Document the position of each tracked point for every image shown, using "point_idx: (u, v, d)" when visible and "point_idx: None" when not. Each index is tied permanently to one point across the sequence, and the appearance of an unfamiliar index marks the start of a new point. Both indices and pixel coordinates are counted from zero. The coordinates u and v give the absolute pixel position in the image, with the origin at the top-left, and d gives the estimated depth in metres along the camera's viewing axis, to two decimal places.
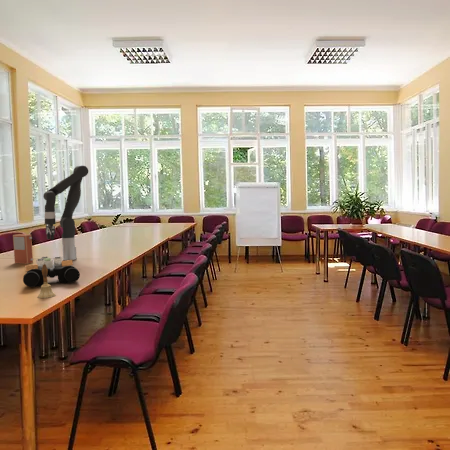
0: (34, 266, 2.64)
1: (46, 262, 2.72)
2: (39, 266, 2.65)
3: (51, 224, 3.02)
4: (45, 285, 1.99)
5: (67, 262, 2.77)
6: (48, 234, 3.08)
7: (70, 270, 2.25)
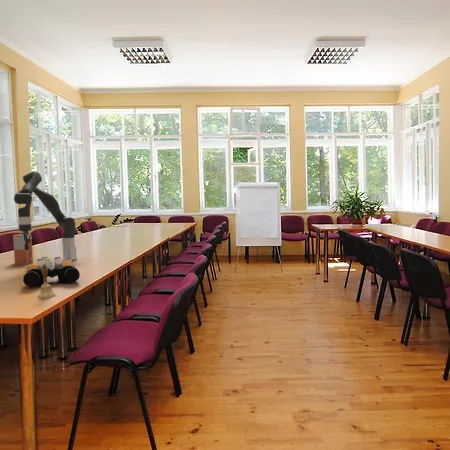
0: (34, 266, 2.64)
1: (46, 262, 2.72)
2: (39, 266, 2.65)
3: (26, 231, 2.63)
4: (45, 285, 1.99)
5: (67, 262, 2.77)
6: None
7: (70, 270, 2.25)
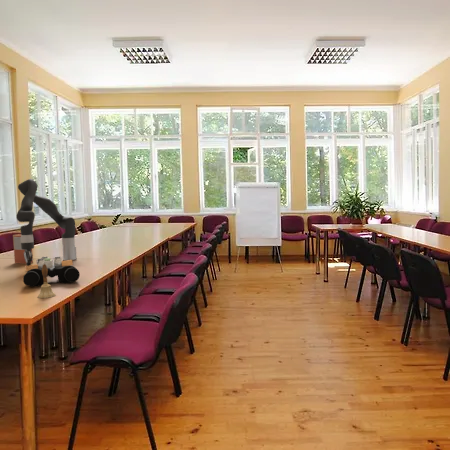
0: (34, 266, 2.63)
1: (46, 262, 2.72)
2: (39, 266, 2.65)
3: (28, 249, 2.61)
4: (45, 285, 1.99)
5: (67, 262, 2.77)
6: None
7: (70, 270, 2.25)
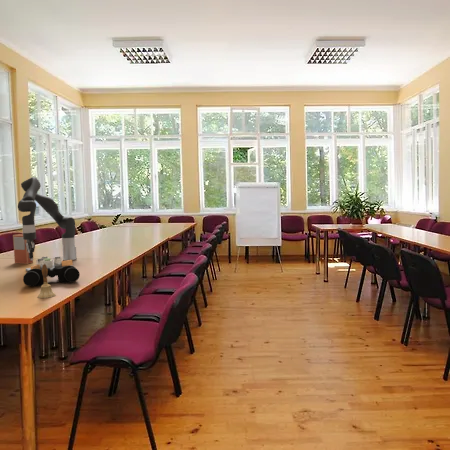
0: (38, 266, 2.63)
1: (46, 262, 2.72)
2: (42, 266, 2.65)
3: (31, 239, 2.57)
4: (45, 285, 1.99)
5: (67, 262, 2.77)
6: None
7: (70, 270, 2.26)
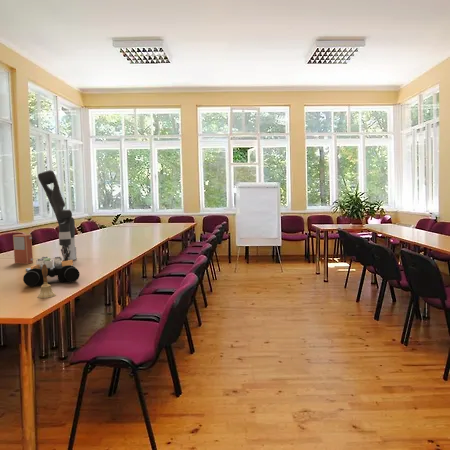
0: (38, 266, 2.63)
1: (46, 262, 2.72)
2: (42, 266, 2.65)
3: (66, 245, 2.76)
4: (45, 285, 1.99)
5: (67, 262, 2.77)
6: None
7: (70, 269, 2.26)
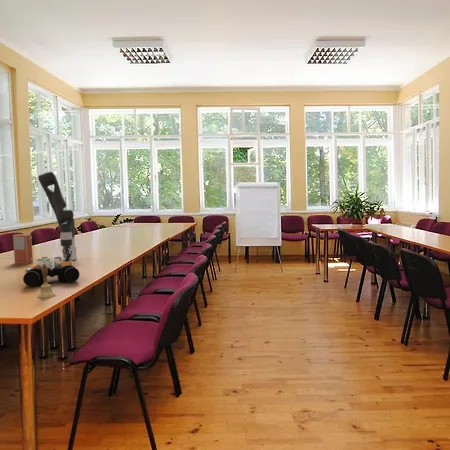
0: (38, 266, 2.63)
1: (46, 262, 2.72)
2: (42, 266, 2.65)
3: (68, 246, 2.74)
4: (45, 285, 1.99)
5: (66, 263, 2.74)
6: None
7: (70, 269, 2.26)
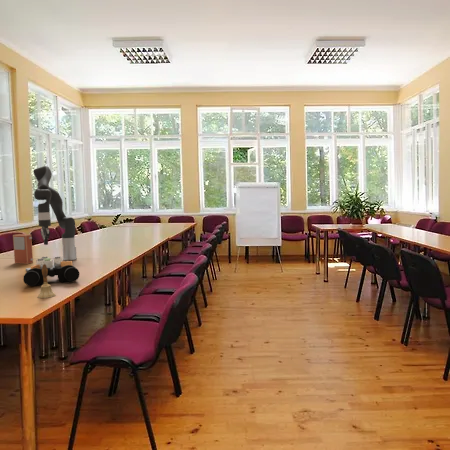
0: (38, 266, 2.63)
1: (46, 262, 2.72)
2: (42, 266, 2.65)
3: (46, 226, 2.69)
4: (45, 285, 1.99)
5: (66, 263, 2.73)
6: None
7: (70, 269, 2.27)
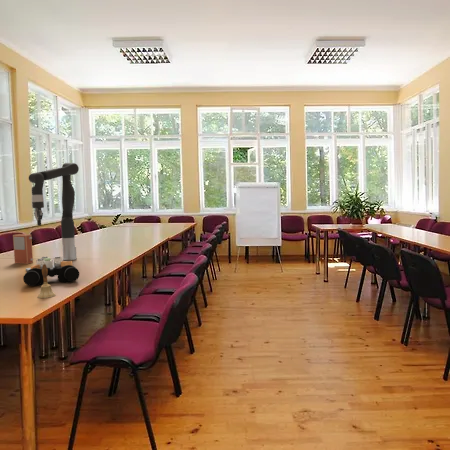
0: (38, 266, 2.63)
1: (46, 262, 2.72)
2: (42, 266, 2.65)
3: (39, 208, 2.85)
4: (45, 285, 1.99)
5: (66, 263, 2.73)
6: None
7: (70, 269, 2.27)
